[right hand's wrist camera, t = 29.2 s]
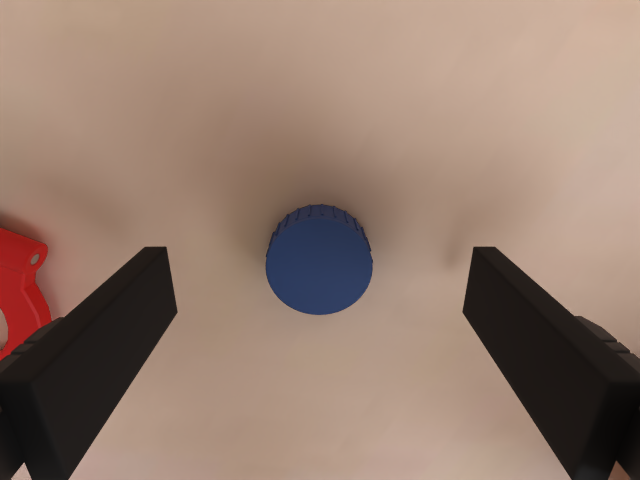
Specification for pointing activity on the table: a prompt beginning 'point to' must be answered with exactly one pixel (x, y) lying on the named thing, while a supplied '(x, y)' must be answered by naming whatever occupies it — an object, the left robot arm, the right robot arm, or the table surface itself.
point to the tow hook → (21, 288)
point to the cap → (319, 260)
